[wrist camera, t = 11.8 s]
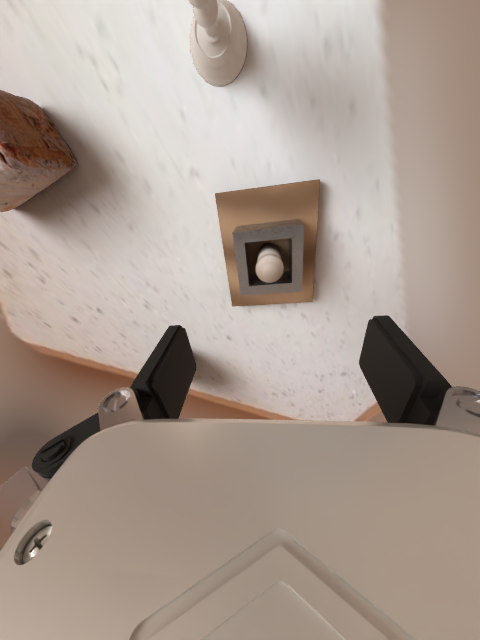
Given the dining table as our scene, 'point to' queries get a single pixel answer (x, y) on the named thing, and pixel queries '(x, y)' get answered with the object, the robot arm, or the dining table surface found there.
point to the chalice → (217, 41)
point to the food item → (28, 151)
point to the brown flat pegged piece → (270, 254)
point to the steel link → (264, 232)
